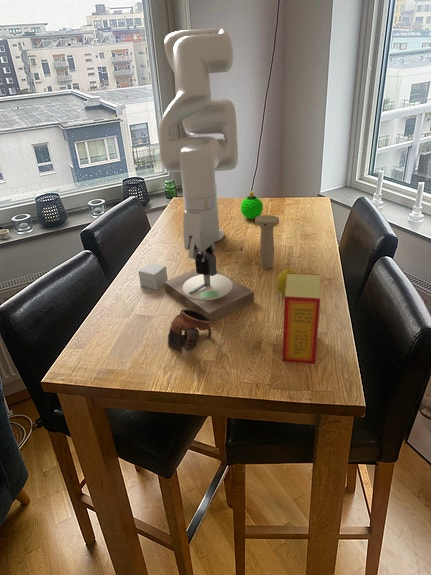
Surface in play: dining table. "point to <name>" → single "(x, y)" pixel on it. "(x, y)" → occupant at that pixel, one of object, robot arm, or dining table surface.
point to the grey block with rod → (211, 271)
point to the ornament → (251, 206)
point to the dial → (214, 291)
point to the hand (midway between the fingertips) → (205, 269)
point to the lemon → (283, 280)
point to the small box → (153, 276)
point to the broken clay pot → (187, 330)
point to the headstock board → (210, 308)
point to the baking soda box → (301, 317)
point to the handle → (267, 239)
